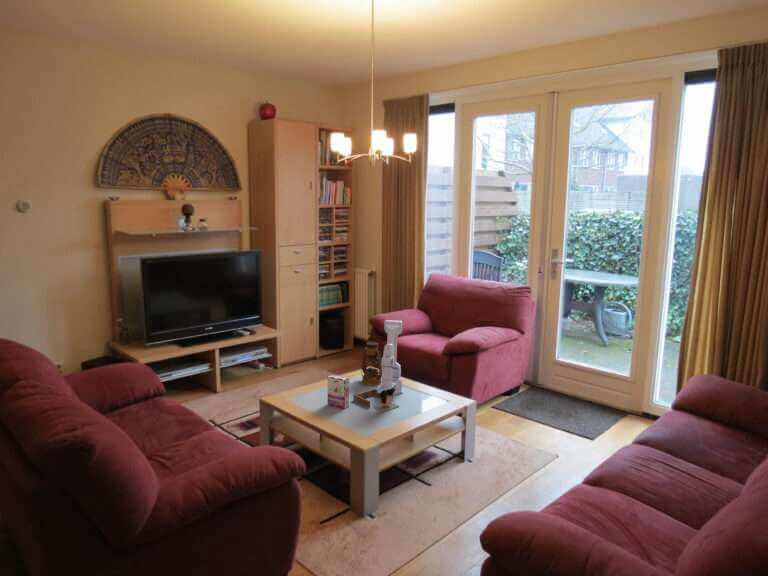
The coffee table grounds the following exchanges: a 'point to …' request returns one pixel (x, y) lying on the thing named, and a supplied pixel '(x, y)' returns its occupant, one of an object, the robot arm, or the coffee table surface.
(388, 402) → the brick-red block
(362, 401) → the walnut arch
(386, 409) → the grey mat
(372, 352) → the lantern
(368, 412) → the coffee table surface
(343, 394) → the candy bar box
